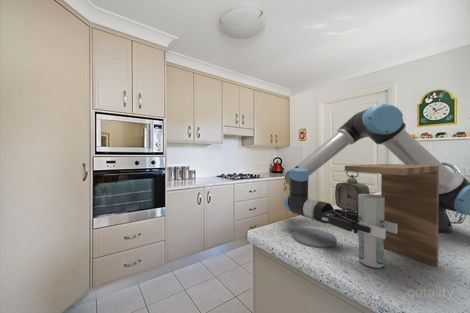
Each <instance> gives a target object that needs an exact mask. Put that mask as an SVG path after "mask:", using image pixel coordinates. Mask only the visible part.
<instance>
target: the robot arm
mask: <svg viewBox="0 0 470 313" xmlns="http://www.w3.org/2000/svg"><path fill="white" fill-rule="evenodd" d="M403 117H404V114H403V112H402V111H401V110H400V108H398V107H397V106H395V105H393V104H389V103H381V104H380V103H379V104H376V105H372V106H370V107H369V108H366V109H363V110H362V111H358V112H356V113H355V114H353V116H351V117H350V118H349V119H348V120H347V121H346V122H345V123H344V124H343V125H341V126H340V127H339V128H337V131H336V133H335V134H334V135H332V136H330V138H329V139H328V140H326V141H325V142H324V143H322V145H320V146H319V147H318V148H317V149H315V150H314V151H313V152H312V153H310V154H309V155H308V156H307V157H306V158H304V159H302V160H301V161H300V162H299V163H298V164H297V165H295V166H294V167H292V168H290V169H289V170H287V171H286V172H285V174H284V181H285V183H286V184H287V185H288V186H289V194H288V195H286V196H285V198H284V200H283V206H284V209H286V211H287V212H290V213H292V214H295V215H298V216H302V217H304V218H307V219H310V220H311V221H317V222H320V223H321V224H328V225H332V226H334V227H338V228H339V229H343V230H345V231H348V232H353V234H359V231H360V232H363V233H366V234H370V235H373V236H376V237H379V238H382V239H386V231H388V232H392V233H395V234H397V224H396V223H392V222H388V221H384V228H381V227H378V226H374V225H371V224H367V223H363V222H359V224H358V212H353V211H349V210H346V209H343V210H341V208H335V209H334V206H333V205H332V204H331V203H329V202H326V201H321V200H318V199H312V198H309V177H310V176H311V175H313V173H314V172H316V171H317V170H318V169H320V168H321V167H322V166H324V165H325V164H326V163H327V162H328V161H330V160H331V159H332V158H334V157H335V156H337V154H339V153H340V152H341V151H342V150H344V149H345V148H347V147H348V146H349V145H354V144H355V143H357V142H358V141H360V140H362V139H365V138H370V140H372V142H374V143H375V144H376V145H383V146H385V148H386V149H387V150H389V152H390V153H392V154H393V155H394V156H395V157H396V158H397V159H398V160H400V161H401V162H402V163H403V165H435V166H439V200H438V233H445V234H446V233H452V231H453V224H452V223H451V220H450V218H449V215H448V213H447V210H448V211H452V212H455V213H458V214H460V215H465V216H470V181H469V180H468V179H467V178H465V177H464V176H463V175H462V174H461V173H459V172H451V170H449V169H448V168H447V167H446V166H445V165H444V164H443V163H442V162H440V161H439V159H437V158H436V157H435V156H434V155H433V154H432V153H431V152H429V150H427V149H426V148H425V147H424V146H423V144H421V143H420V142H419V141H418V140H417V139H415V137H413V136H412V135H411V134H410V133H409V132H407V130H406V127H407V125H406V123H405V122H404V118H403ZM358 230H359V231H358Z"/></svg>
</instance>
